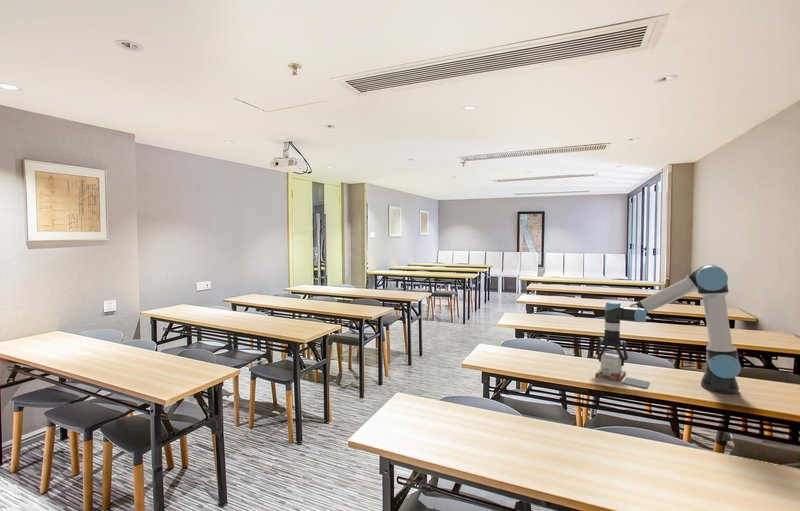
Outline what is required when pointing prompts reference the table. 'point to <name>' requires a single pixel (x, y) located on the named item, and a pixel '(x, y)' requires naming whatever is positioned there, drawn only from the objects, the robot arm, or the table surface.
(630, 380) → the pad
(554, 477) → the table surface
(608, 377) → the frame
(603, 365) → the ink box
